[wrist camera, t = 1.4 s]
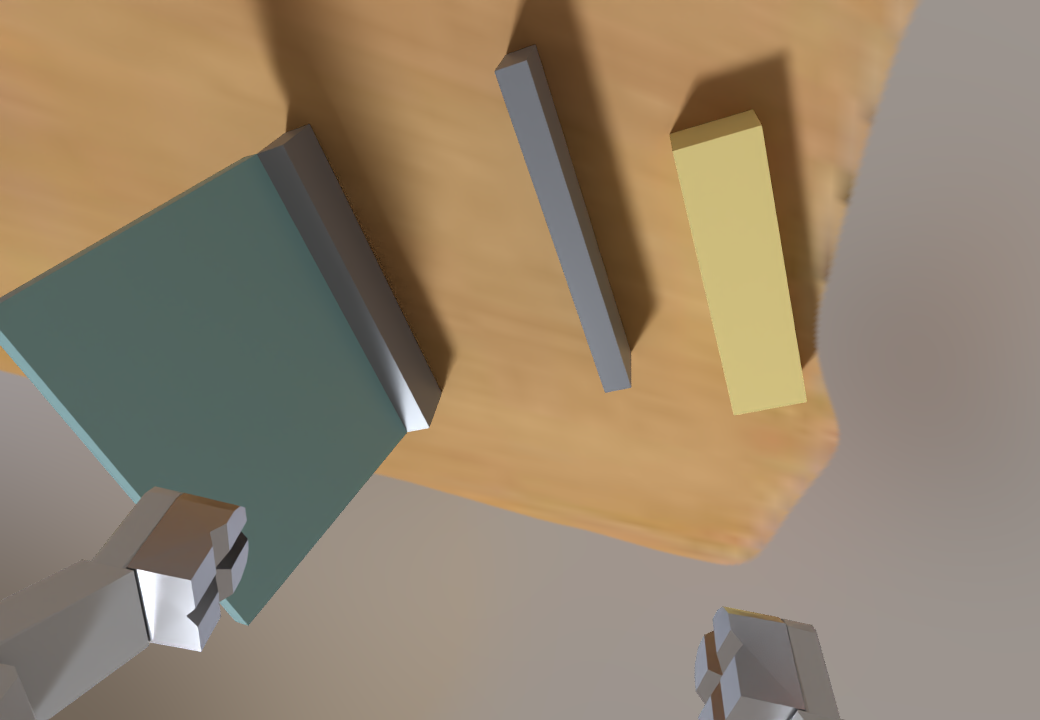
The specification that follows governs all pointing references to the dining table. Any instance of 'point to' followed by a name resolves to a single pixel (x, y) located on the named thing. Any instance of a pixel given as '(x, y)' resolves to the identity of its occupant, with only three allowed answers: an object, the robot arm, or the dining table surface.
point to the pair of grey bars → (364, 287)
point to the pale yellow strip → (741, 259)
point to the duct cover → (211, 368)
